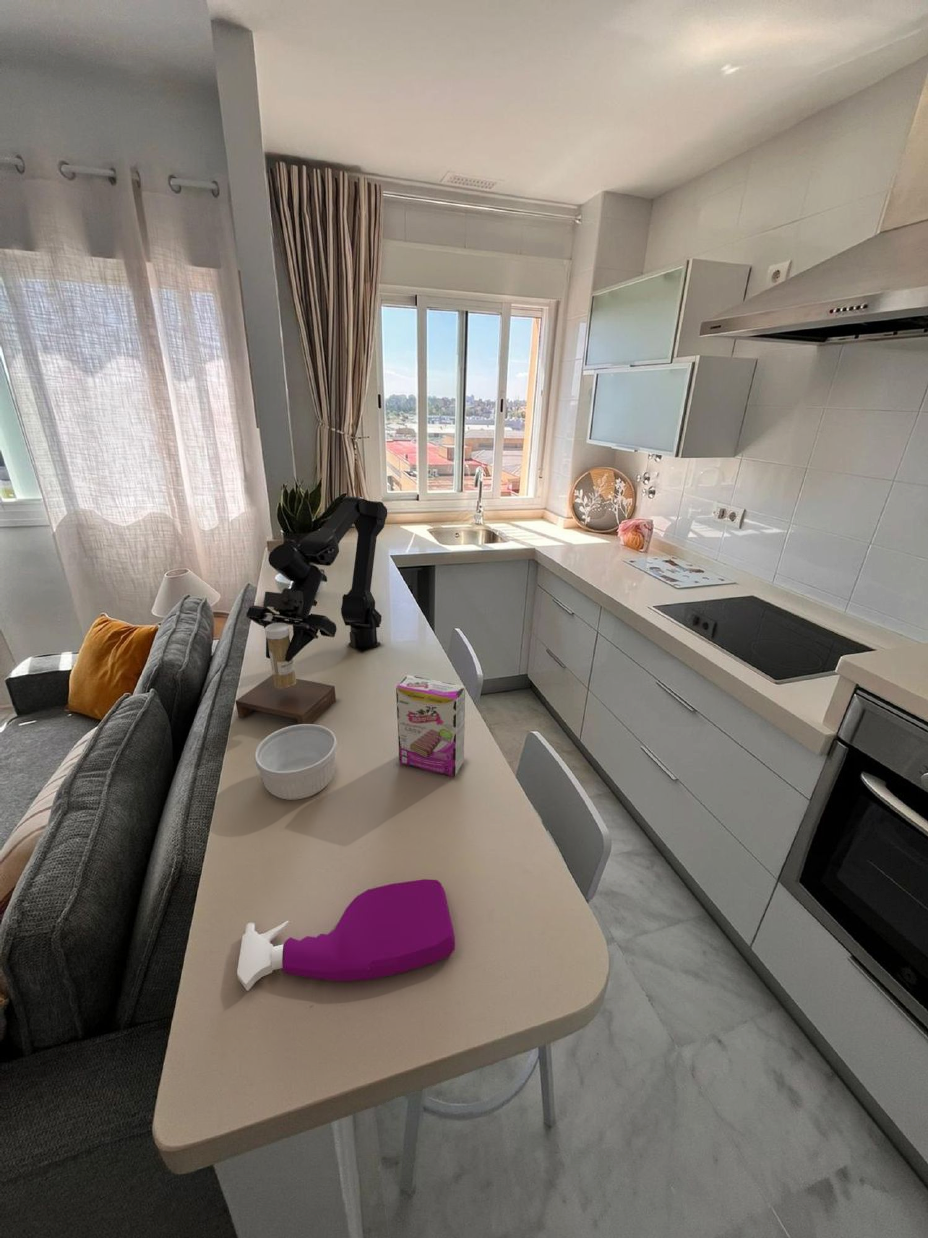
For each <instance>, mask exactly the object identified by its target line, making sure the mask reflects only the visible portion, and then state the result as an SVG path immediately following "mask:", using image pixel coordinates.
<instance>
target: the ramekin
mask: <svg viewBox="0 0 928 1238" xmlns="http://www.w3.org/2000/svg"><path fill="white" fill-rule="evenodd" d="M337 750H338V743H337V738H336V735H335V733H334V732H333V731H332V730H331V729H329V728H327V727H325V726H323V725H320V724H314V723H313V724H300V725H298V724H294V725H293V724H292V725H289V726H286V727H283V728H281V729H278V730H276V731H274V732H272V733H269V735H267V736H266V737H265V738H264V739H262V741H261V742H260V743H259V744H258V745H257V747H256V749H255V752H254V761H255V766H256V769H257V770H258V771H259V773H260V775H261V779H262V782H263V784H264V787H265V788H266V790H267V791H268V792H269V793H270V794H272V795H273V796H275V797H277V798H279V799H282V800H285V801H286V800H288V801H297V800H304V799H307V798H309V797H312V796H314V795H316V794H318V793H319V792H321V791H322V790H323V789H325V788H326V787H327V785H329V784H330V782H331V781H332V779H333V777H334V775H335V772H336V760H337V759H336V758H337V757H336V756H337Z"/></svg>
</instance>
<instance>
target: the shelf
mask: <svg viewBox="0 0 928 1238" xmlns="http://www.w3.org/2000/svg"><path fill="white" fill-rule="evenodd" d="M336 702H337V698H336V689H335V685H333V684H332V685H331V684H328V683H327V684H326V683H323V682H316V681H312V680H306V679H300V678H296V684H295V685H294V686H292V687H290V688H287V689H278V688H276V687H275V686H274V676H273V674H271V675H270V676H268V677H267V678H266V679H264V680H263V681H261V682H260V683H258V684H257V685H255V686H253V687H252V688H251V689H250V690H248V691H247V692H246V693H244V694H243V695H241V696H240V697H239V698H237V699H236V700H235V707H236V711H237V716H238V718H240V719H244V718H245V717H247V716H248V715H249V714H251V713H252V712H253V711H258V712H263V713H267V714H273V715H277V716H283V717H286V718H291V719H296V720H297V725H300V724H314V723H315V722H316V721H317V720H318V719H319V718H320V717H322V716H323V714H324V713H326V712H327V711H328V710H329V709H330V708H331V707H332V706H333V705H334V704H335V703H336Z"/></svg>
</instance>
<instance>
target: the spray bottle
mask: <svg viewBox="0 0 928 1238" xmlns="http://www.w3.org/2000/svg"><path fill="white" fill-rule="evenodd" d="M447 899H448V898H447V894H446V891H445V889H444V887H443V885H442V883H441V881H439V880H437V879H424V878H423V879H417V880H410V881H401V882H395V883H390V884H385V885H381V886H377V887H372V888H368V889H366V890H365V891H363V892H361V893H359V894H358V895H357V896H356V897H355V898H354V899H353V900H352V901H351V902H350V903H349V904H348V905H347V907H345V909H344V911H343V913H342V915H341V917H340V918H339V920H338V922H337V923H336V926H335V928H333V930H331V931H330V932H328V933H327V934H326V933H320V934H318V935H317V936H308V935H307V936H305V937H303V938H302V939H300V940H299V939H297V938H294V937H291V936H289V937H288V938H287V939H285V941H284V943H283V944H279V945H275V946H274V944H273V943H271V941H272V940H273V939H274V938H276V936H277V935H279V934H280V933H281V932H282V931H284V929H286V927H288V926H289V925H290V921H289V920H286V921H285V922H283V923H282V924H280V925H278V926H276V927H274V928H272V929H270V930H268V931H266V932H264V933H260V934H259V932H258V931H257V930H256V924H255V922H248V923H247V924H246V925H245V929H244V930H245V931H244V933H243V934H242V937H241V944H240V951H239V957H238V962H237V963H238V964H237V970H236V975H237V979H238V980H239V982H240V983H241V984H242V986H243V987H244V989H245V990H246V992H247V991H250V989H251V988H252V987H253V986H254V984H255V983H256V982H257V981H259V980H260V979H261V978H262V977H265V976H267V975H270V974H273V971H276V970H280V969H283V973H284V974H287V975H290V976H291V975H292V976H297V977H303V978H311V979H317V980H325V981H335V982H354V981H355V982H356V981H367V980H372V979H373V980H374V979H379V978H384V977H389V976H390V977H391V976H394V975H399V974H402V973H405V972H409V971H412V970H415V969H419V968H423V967H426V966H429V965H432V964H434V963H437V962H440V961H441V960H445V959H446V958H448V957H451V955H452V953H453V952H454V951H455V950H456V935H455V932H454V926H453V921H452V917H451V913H450V909H449V908H450V907H449V903H448V900H447Z"/></svg>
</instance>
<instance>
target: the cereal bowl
mask: <svg viewBox="0 0 928 1238" xmlns="http://www.w3.org/2000/svg"><path fill="white" fill-rule="evenodd" d="M274 582H275V586H276V589H277V590H278V591H279V593H282V591H283V589H284V588H287V589H289V586H290V584H291V581H289V580H287V579H286V578H285V577H284V576H283V575H281V574H280V573H277V574H276V575H275V576H274ZM325 586H326V582H322V581H321V583H320V586H319V589H318V591H317V594H318V593H320V592H321V591H322V590H324V588H325Z"/></svg>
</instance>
